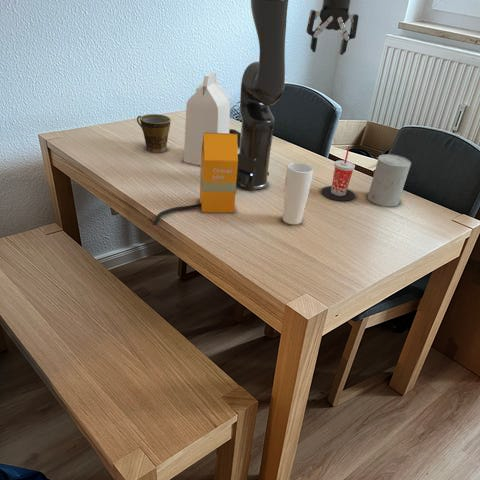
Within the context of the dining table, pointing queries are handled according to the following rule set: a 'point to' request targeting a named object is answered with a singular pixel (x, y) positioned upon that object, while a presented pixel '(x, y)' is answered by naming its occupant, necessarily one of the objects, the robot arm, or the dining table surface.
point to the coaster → (328, 194)
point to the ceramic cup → (155, 131)
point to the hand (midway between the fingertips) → (327, 53)
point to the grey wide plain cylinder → (388, 180)
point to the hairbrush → (237, 135)
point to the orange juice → (218, 172)
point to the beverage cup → (342, 176)
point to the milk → (205, 116)
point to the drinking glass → (296, 191)
